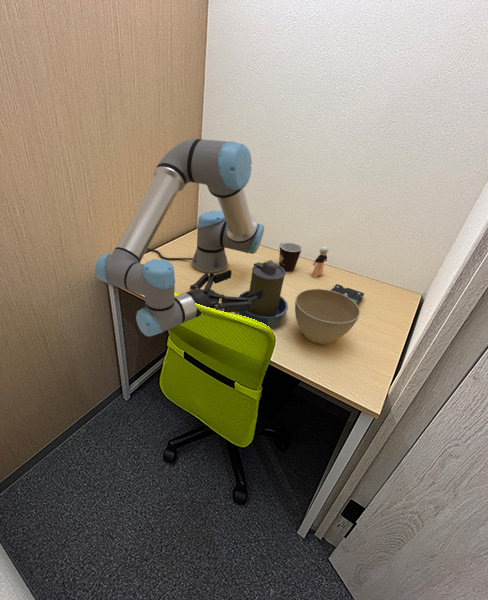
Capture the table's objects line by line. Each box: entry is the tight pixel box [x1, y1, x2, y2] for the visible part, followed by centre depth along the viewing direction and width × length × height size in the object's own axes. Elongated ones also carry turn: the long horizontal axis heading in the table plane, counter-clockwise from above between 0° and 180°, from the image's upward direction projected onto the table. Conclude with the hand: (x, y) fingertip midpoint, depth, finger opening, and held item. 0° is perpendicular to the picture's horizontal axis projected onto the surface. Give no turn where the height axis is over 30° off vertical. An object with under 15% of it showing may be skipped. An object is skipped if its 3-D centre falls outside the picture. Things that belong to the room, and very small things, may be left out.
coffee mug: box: [278, 242, 303, 273], centre depth 142 cm, size 12×9×10 cm
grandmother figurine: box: [311, 246, 329, 278], centre depth 136 cm, size 8×4×13 cm, turn 131°
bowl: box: [235, 290, 289, 330], centre depth 115 cm, size 17×17×5 cm
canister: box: [248, 259, 287, 317], centre depth 111 cm, size 11×10×20 cm
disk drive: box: [330, 283, 365, 306], centre depth 122 cm, size 10×3×15 cm
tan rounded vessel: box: [294, 288, 361, 345], centre depth 104 cm, size 18×18×12 cm
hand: (245, 282), depth 103 cm, fingers open, 13 cm apart
